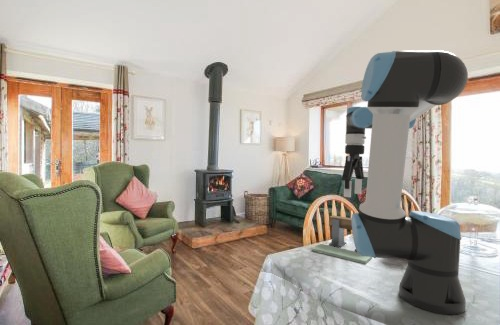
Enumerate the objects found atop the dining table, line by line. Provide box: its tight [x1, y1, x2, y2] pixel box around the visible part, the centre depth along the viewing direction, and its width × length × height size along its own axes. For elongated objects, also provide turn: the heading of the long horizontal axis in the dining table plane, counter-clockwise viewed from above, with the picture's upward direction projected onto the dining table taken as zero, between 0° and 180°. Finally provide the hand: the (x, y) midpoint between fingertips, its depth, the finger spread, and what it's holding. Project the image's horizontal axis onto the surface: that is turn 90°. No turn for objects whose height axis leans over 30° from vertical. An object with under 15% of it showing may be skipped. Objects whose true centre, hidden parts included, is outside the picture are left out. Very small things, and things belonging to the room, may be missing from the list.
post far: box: [328, 219, 347, 248], centre depth 124 cm, size 7×5×12 cm
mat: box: [311, 243, 373, 265], centre depth 112 cm, size 8×21×1 cm, turn 52°
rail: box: [328, 215, 352, 231], centre depth 120 cm, size 4×18×4 cm, turn 52°
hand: (352, 195), depth 120 cm, fingers open, 13 cm apart
